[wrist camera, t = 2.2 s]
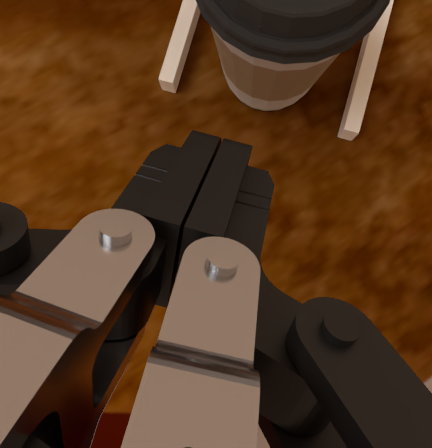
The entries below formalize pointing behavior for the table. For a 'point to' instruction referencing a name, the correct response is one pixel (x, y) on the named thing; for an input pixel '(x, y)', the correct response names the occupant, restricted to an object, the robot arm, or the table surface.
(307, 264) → the table surface
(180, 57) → the guide track
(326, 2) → the coffee cup
